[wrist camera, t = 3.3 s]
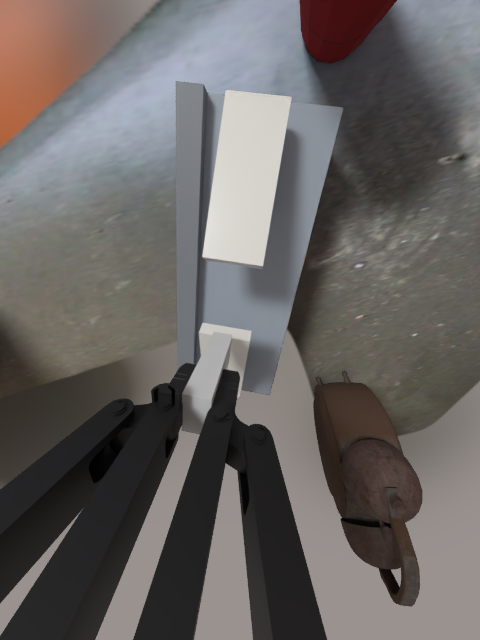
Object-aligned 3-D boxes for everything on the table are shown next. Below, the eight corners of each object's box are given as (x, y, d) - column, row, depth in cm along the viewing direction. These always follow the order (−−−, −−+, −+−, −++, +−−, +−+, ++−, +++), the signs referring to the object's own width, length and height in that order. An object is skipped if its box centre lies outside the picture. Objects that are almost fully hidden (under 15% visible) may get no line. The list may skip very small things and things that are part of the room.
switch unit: (194, 353, 33) (177, 383, 26) (203, 125, 21) (175, 81, 14) (270, 366, 32) (271, 401, 26) (325, 140, 20) (353, 100, 14)
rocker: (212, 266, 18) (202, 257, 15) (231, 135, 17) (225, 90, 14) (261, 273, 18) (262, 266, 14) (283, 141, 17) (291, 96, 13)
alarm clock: (355, 424, 35) (452, 637, 17) (311, 425, 36) (357, 624, 18) (359, 353, 29) (512, 560, 11) (307, 357, 30) (366, 548, 12)
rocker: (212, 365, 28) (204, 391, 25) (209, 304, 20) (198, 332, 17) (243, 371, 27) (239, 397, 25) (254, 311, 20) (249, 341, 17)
